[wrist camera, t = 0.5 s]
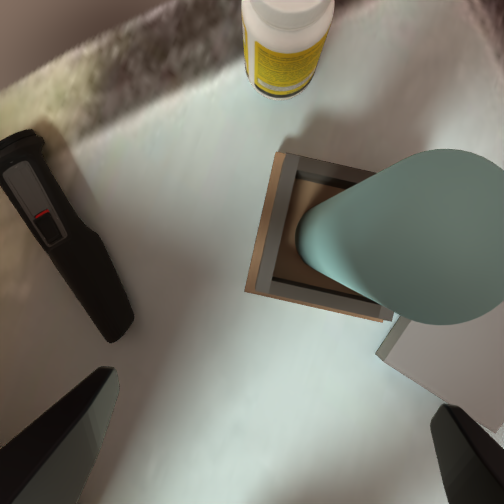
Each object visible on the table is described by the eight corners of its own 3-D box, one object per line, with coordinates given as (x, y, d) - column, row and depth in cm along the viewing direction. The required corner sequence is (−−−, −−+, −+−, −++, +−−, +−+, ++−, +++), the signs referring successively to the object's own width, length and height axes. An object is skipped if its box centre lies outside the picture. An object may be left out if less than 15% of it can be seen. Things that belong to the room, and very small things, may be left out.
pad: (480, 421, 23) (495, 433, 22) (375, 353, 23) (383, 361, 22) (552, 316, 23) (573, 321, 22) (446, 247, 23) (459, 248, 21)
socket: (374, 317, 23) (399, 333, 19) (244, 288, 23) (242, 298, 19) (406, 186, 23) (438, 176, 19) (274, 157, 23) (278, 140, 19)
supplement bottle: (327, 77, 23) (369, -19, 14) (269, 115, 23) (278, 43, 14) (289, 17, 22) (309, -115, 14) (231, 56, 23) (217, -51, 14)
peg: (333, 286, 22) (451, 360, 9) (280, 242, 22) (318, 249, 9) (379, 233, 21) (569, 226, 8) (325, 188, 21) (434, 111, 8)
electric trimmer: (109, 341, 24) (87, 357, 21) (-3, 155, 23) (-44, 143, 20) (153, 316, 24) (138, 329, 21) (42, 128, 23) (8, 111, 20)
